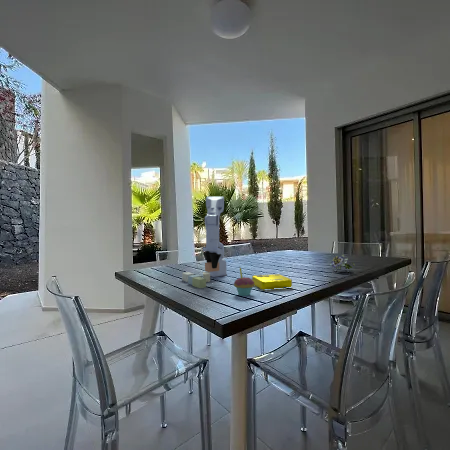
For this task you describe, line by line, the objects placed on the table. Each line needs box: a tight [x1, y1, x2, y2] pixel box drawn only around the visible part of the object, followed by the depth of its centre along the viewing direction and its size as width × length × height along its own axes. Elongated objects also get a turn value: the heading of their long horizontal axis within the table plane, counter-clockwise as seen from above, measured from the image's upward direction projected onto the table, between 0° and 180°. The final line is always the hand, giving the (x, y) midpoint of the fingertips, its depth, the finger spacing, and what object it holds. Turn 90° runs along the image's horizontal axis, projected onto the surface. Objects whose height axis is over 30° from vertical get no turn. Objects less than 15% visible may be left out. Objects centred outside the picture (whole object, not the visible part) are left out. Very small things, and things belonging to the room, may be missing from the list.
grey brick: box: [181, 271, 195, 283], centre depth 150 cm, size 6×4×4 cm, turn 34°
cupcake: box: [233, 267, 255, 297], centre depth 123 cm, size 9×8×12 cm
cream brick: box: [202, 271, 211, 283], centre depth 151 cm, size 6×4×4 cm, turn 4°
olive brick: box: [191, 277, 207, 289], centre depth 138 cm, size 6×4×4 cm, turn 40°
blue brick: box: [187, 274, 203, 286], centre depth 144 cm, size 6×4×4 cm, turn 134°
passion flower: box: [329, 254, 355, 270], centre depth 175 cm, size 11×11×12 cm
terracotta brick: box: [204, 261, 219, 272], centre depth 142 cm, size 6×4×4 cm, turn 124°
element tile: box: [251, 273, 293, 290], centre depth 138 cm, size 15×15×5 cm
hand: (212, 267), depth 142 cm, fingers closed on terracotta brick, 3 cm apart
